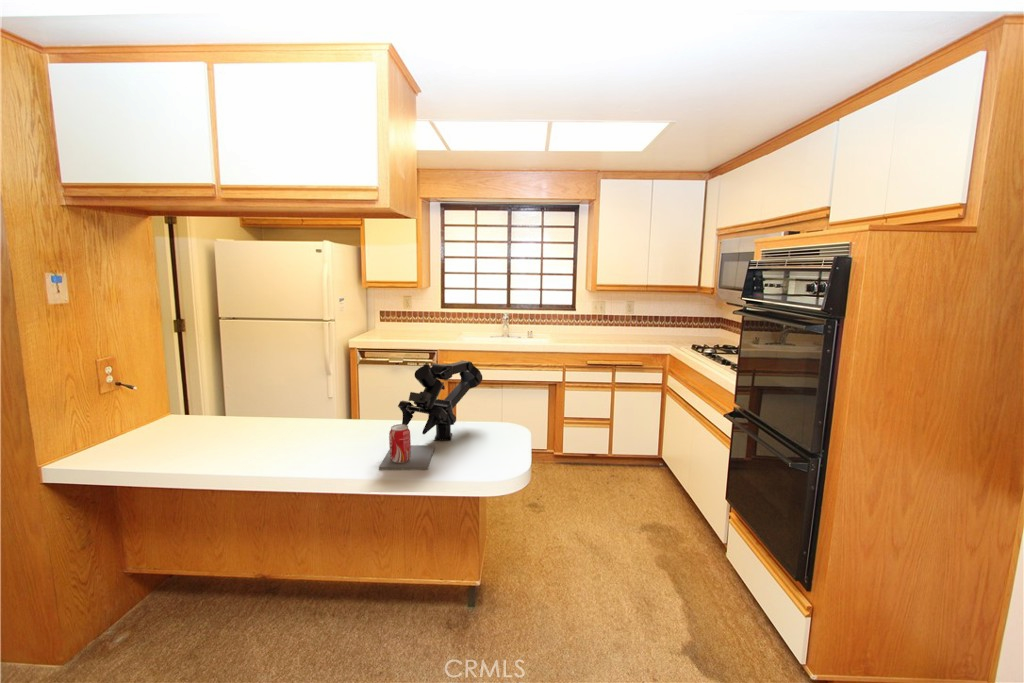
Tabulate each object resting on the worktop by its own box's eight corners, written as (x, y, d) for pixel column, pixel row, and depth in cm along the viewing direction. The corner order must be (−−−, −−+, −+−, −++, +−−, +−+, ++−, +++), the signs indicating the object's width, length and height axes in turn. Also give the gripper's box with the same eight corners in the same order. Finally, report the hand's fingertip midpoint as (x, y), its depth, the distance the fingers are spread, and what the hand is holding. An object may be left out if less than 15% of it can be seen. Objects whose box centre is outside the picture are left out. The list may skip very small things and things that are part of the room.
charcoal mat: (391, 447, 168) (391, 445, 168) (434, 447, 169) (434, 445, 168) (379, 469, 150) (378, 466, 150) (427, 469, 151) (427, 466, 151)
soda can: (387, 458, 157) (386, 425, 155) (408, 454, 160) (407, 422, 158) (392, 466, 151) (391, 432, 149) (413, 462, 154) (412, 428, 152)
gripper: (400, 379, 166) (380, 417, 158) (442, 385, 158) (423, 426, 150) (414, 394, 174) (396, 431, 167) (455, 401, 166) (438, 440, 158)
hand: (412, 431), depth 160 cm, fingers open, 9 cm apart
